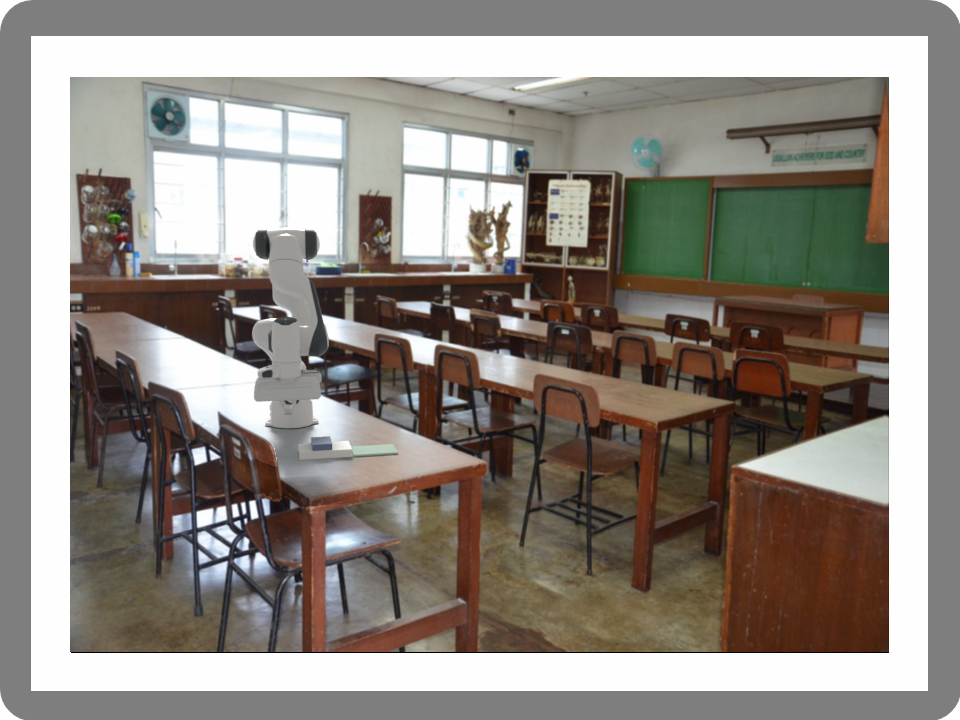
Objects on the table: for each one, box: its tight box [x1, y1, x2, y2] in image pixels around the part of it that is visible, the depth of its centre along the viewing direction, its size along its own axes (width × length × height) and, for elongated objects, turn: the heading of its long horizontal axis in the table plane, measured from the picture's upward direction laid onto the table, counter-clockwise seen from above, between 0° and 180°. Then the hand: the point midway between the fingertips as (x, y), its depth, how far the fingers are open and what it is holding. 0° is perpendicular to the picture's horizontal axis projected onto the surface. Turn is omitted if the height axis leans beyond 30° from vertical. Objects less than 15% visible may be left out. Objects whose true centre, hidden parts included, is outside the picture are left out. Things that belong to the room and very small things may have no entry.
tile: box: [310, 435, 333, 451], centre depth 249 cm, size 9×6×2 cm, turn 15°
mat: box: [350, 443, 399, 458], centre depth 253 cm, size 10×14×1 cm
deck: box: [297, 440, 353, 461], centre depth 249 cm, size 10×16×2 cm, turn 105°
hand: (288, 414), depth 244 cm, fingers closed
